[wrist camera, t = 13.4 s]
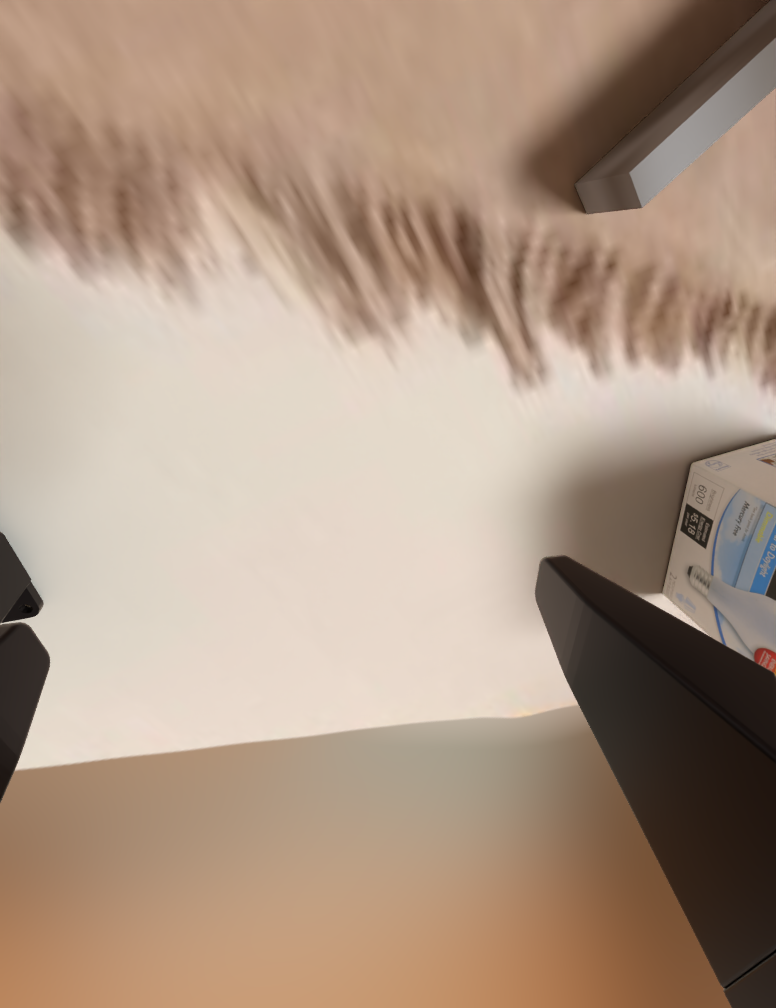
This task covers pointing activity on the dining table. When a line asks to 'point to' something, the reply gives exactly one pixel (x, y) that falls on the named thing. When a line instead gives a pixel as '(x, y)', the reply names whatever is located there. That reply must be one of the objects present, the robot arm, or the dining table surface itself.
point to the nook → (686, 120)
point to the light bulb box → (729, 551)
